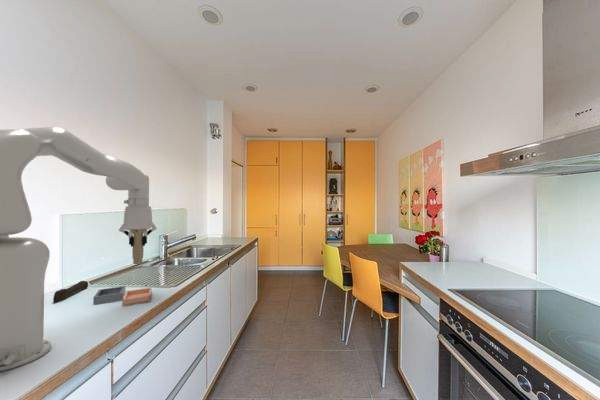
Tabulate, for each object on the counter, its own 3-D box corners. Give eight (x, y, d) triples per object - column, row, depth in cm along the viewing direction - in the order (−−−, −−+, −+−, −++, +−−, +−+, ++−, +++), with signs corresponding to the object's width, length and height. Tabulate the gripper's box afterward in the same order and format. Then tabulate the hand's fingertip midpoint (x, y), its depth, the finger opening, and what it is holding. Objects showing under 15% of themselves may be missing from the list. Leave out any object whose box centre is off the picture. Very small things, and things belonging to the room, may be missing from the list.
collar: (122, 300, 104) (122, 293, 104) (93, 304, 99) (93, 297, 99) (125, 292, 113) (125, 286, 113) (99, 296, 109) (99, 289, 109)
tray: (150, 301, 103) (150, 295, 103) (122, 306, 98) (122, 300, 98) (151, 292, 113) (151, 287, 113) (126, 296, 108) (126, 291, 108)
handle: (144, 264, 104) (144, 228, 104) (126, 265, 102) (127, 229, 103) (148, 261, 109) (148, 227, 109) (131, 262, 107) (132, 228, 107)
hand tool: (79, 289, 119) (79, 279, 119) (88, 288, 119) (88, 278, 119) (45, 305, 100) (45, 293, 100) (57, 304, 101) (57, 293, 101)
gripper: (113, 202, 99) (112, 248, 98) (160, 203, 107) (160, 245, 106) (116, 203, 105) (115, 246, 105) (160, 203, 113) (160, 243, 113)
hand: (138, 245), depth 106 cm, fingers closed on handle, 3 cm apart
